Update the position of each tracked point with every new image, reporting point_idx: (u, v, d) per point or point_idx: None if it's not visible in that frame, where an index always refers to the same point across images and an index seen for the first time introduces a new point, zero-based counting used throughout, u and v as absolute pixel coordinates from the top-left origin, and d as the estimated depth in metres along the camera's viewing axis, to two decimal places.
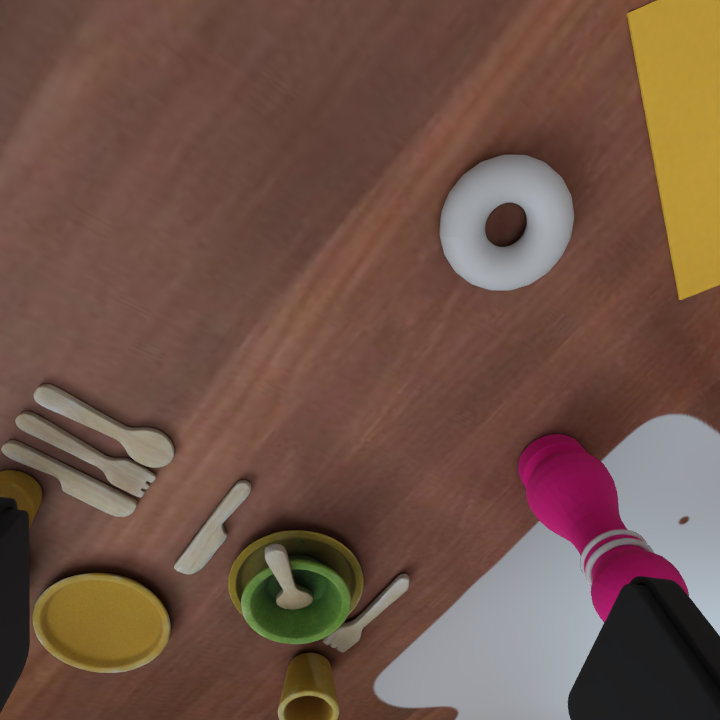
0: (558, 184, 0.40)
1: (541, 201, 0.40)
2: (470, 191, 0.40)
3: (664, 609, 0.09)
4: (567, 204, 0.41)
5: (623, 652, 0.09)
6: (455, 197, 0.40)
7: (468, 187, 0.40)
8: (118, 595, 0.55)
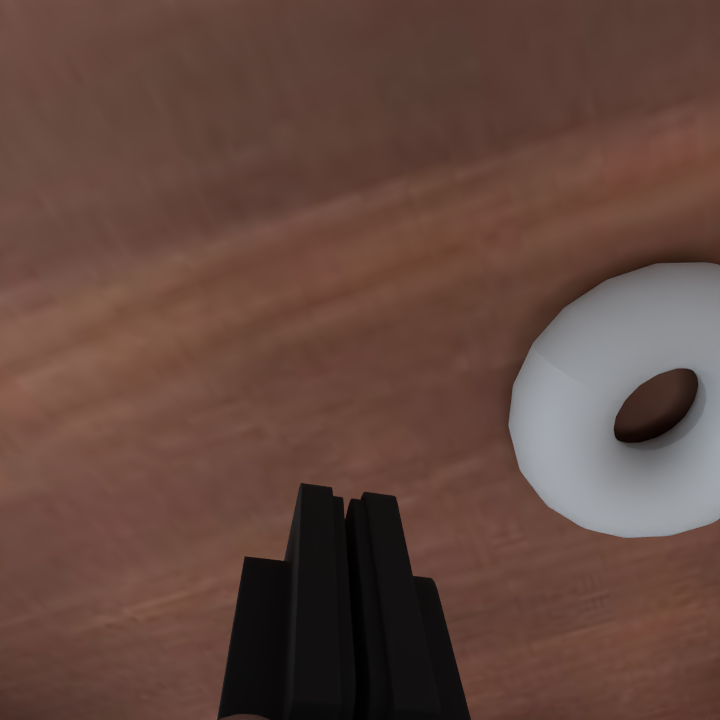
0: None
1: None
2: (672, 308, 0.16)
3: (372, 518, 0.09)
4: None
5: None
6: (629, 299, 0.17)
7: (672, 298, 0.16)
8: None
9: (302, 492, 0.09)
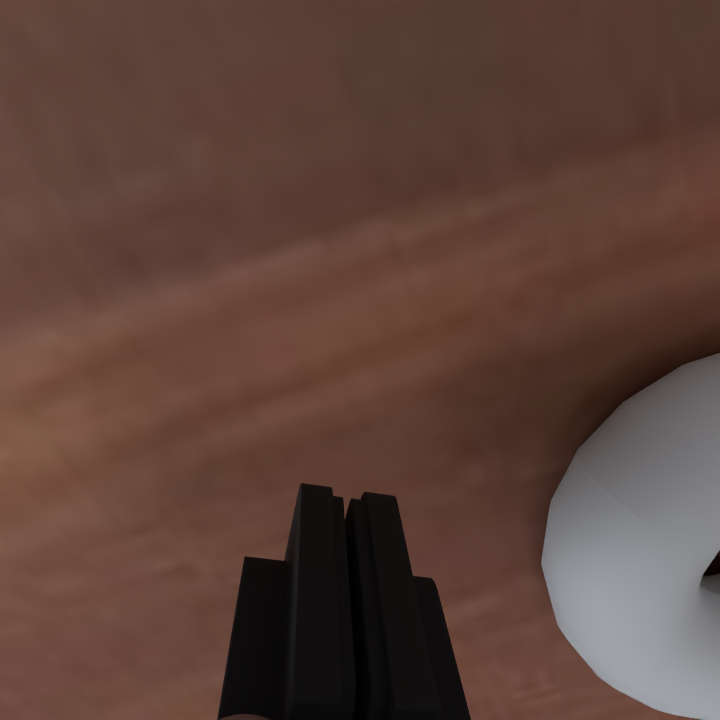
0: None
1: None
2: None
3: (372, 518, 0.09)
4: None
5: None
6: None
7: None
8: None
9: (302, 492, 0.09)
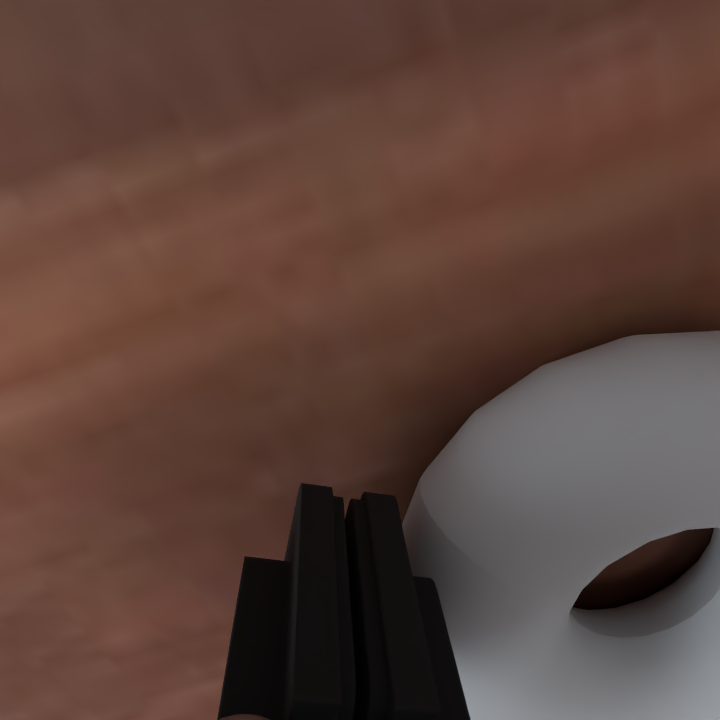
0: None
1: None
2: (666, 438, 0.08)
3: (372, 518, 0.09)
4: None
5: None
6: (581, 416, 0.09)
7: (666, 416, 0.08)
8: None
9: (302, 492, 0.09)
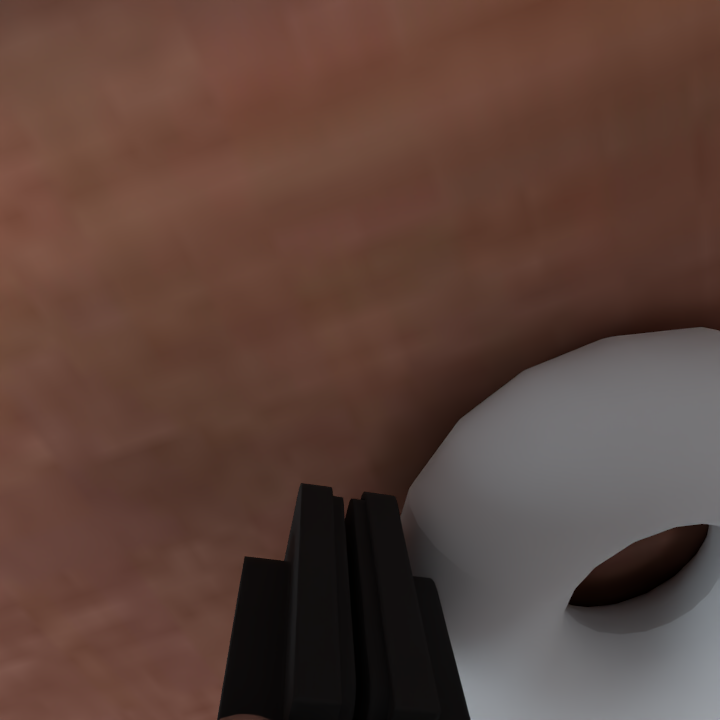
0: None
1: None
2: (642, 439, 0.08)
3: (372, 518, 0.09)
4: None
5: None
6: (558, 422, 0.09)
7: (642, 418, 0.08)
8: None
9: (302, 492, 0.09)
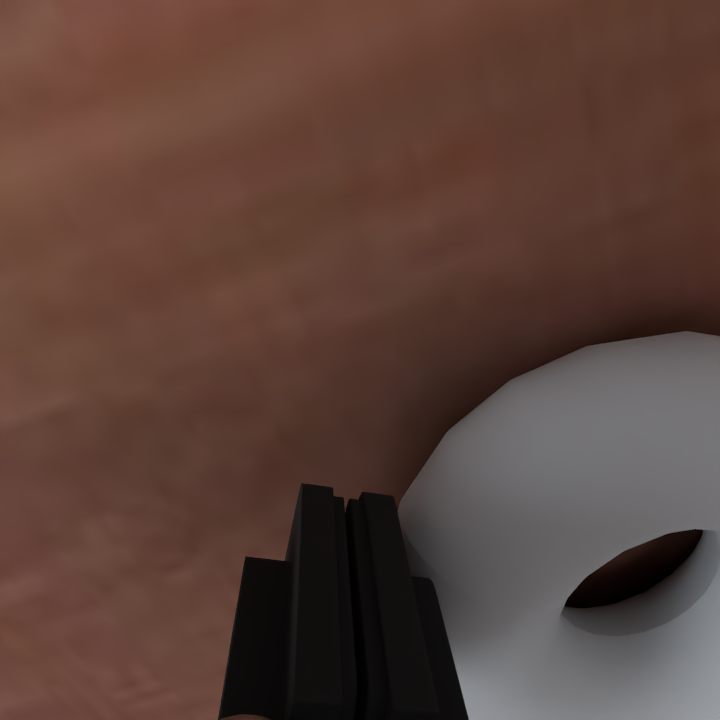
0: None
1: None
2: (626, 451, 0.08)
3: (370, 518, 0.09)
4: None
5: None
6: (543, 436, 0.09)
7: (625, 429, 0.08)
8: None
9: (303, 492, 0.09)
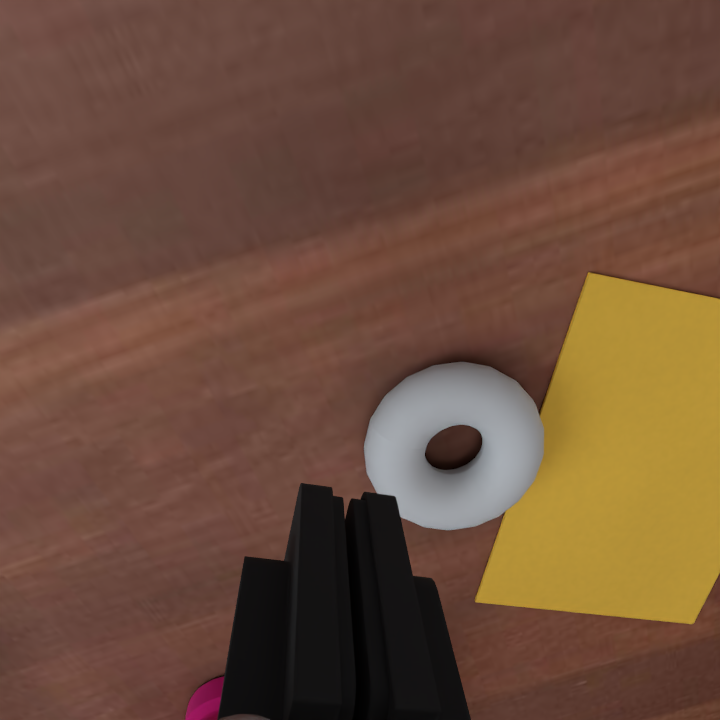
0: (538, 437, 0.30)
1: (509, 448, 0.30)
2: (434, 395, 0.29)
3: (372, 518, 0.09)
4: (536, 464, 0.31)
5: None
6: (412, 391, 0.29)
7: (434, 389, 0.29)
8: None
9: (302, 492, 0.09)
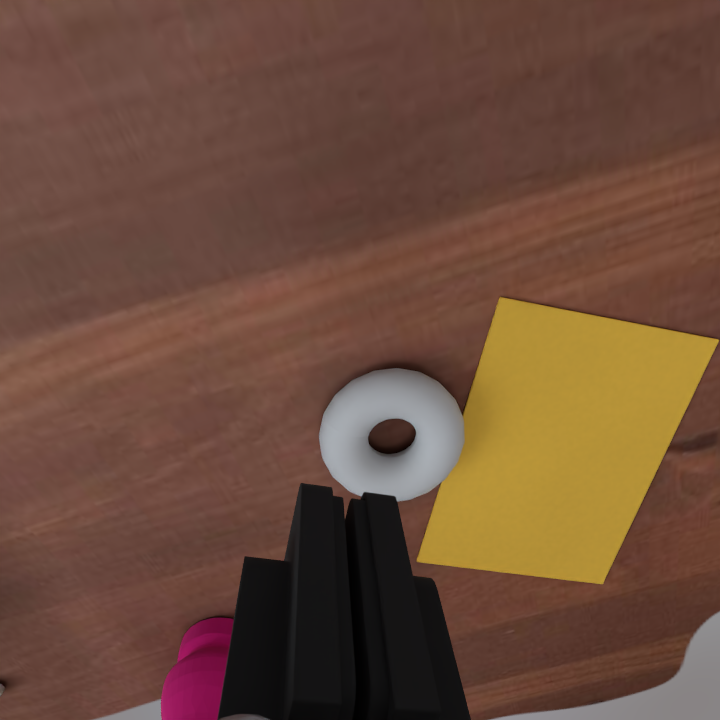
0: (457, 429, 0.38)
1: (433, 437, 0.37)
2: (371, 395, 0.36)
3: (372, 518, 0.09)
4: (456, 450, 0.38)
5: None
6: (354, 392, 0.36)
7: (372, 390, 0.36)
8: None
9: (302, 492, 0.09)
